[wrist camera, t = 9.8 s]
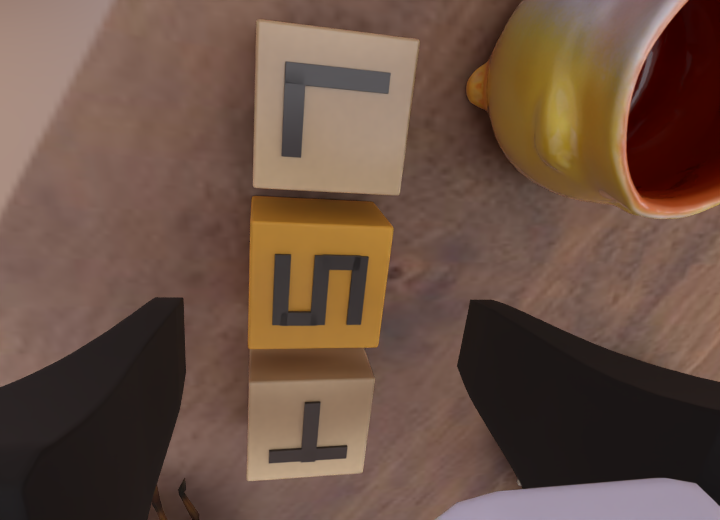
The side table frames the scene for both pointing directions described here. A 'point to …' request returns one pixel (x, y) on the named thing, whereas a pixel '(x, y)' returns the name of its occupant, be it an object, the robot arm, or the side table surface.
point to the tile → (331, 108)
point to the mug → (610, 101)
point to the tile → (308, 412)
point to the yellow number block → (316, 273)
